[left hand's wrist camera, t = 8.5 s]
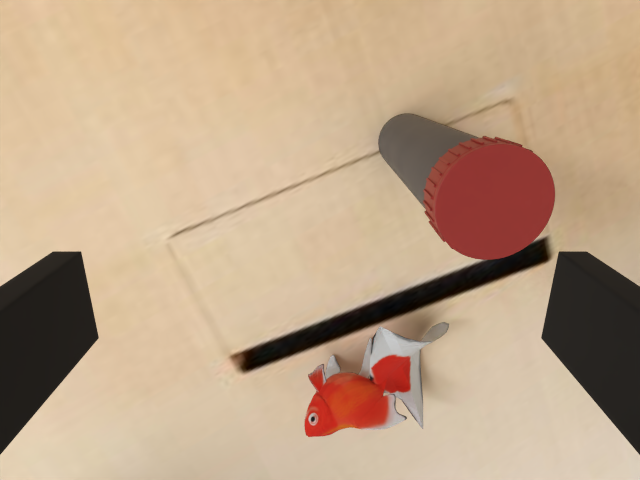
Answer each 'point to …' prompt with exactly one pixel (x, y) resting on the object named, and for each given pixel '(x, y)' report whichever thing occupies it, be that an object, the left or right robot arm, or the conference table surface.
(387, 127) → the dark grey cylinder
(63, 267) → the left robot arm
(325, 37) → the conference table surface
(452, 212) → the lid
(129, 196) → the conference table surface
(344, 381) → the fish
